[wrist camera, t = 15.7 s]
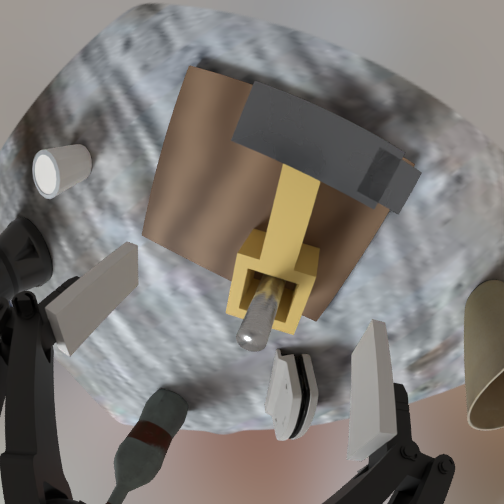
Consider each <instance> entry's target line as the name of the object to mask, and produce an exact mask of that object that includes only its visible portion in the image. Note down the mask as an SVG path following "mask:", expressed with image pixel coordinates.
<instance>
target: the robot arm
mask: <svg viewBox="0 0 504 504" xmlns="http://www.w3.org/2000/svg"><path fill="white" fill-rule="evenodd" d="M51 275H52V263H51V258H50V255H49V251H48V249H47V246H46V244H45V242H44V240H43V238H42V236H41V234H40V233H39V231H38V230H37V228H36V227H35V226H34V225H33V224H32V223H31V222H30V221H29V220H28V219H26V218H23V217H20V218H18V219H16V220H14V221H12V222H11V223H10V224H9V225H8V226H7V228H6V229H5V230H4V231H3V232H2V233H1V235H0V415H1V411H2V407H3V403H4V399H5V396H6V402H5V440H6V451H5V452H4V453H2V454H1V456H0V471H1V480H2V487H3V494H4V500H5V504H86V503H84V502H82V501H79V502H78V501H75V500H73V498H72V494H71V490H70V487H69V484H68V482H67V480H66V478H65V476H64V474H63V469H62V464H61V458H60V451H59V444H58V437H57V428H56V419H55V418H56V417H55V403H54V380H53V379H54V378H53V355H54V350H53V345H54V343H55V342H56V343H57V345H58V348H59V350H60V351H62V352H63V353H65V354H66V355H68V356H71V355H72V354H73V353H74V352H75V351H76V350H77V349H78V347H79V346H80V345H81V344H82V343H83V342H84V341H85V340H86V339H87V338H88V337H89V335H90V334H91V333H92V332H93V331H94V330H95V329H96V328H97V327H98V326H99V325H100V324H101V323H102V322H103V321H104V319H105V318H106V317H107V316H108V315H109V314H110V313H111V312H112V311H113V310H114V309H115V308H116V307H117V306H118V305H119V304H120V303H121V302H122V301H123V300H124V299H125V298H126V297H127V296H128V295H129V294H130V293H131V292H132V291H133V290H134V289H135V288H136V287H137V286H138V245H135V244H132V243H130V242H126V243H124V244H123V245H122V246H120V247H119V248H118V249H116V250H115V251H114V252H112V253H111V254H110V255H108V256H107V257H106V258H104V259H103V260H102V261H101V262H99V263H98V264H97V265H96V266H94V267H93V268H92V269H90V270H89V271H88V272H87V273H85V274H84V275H83V276H82V277H78V276H76V277H73V278H71V279H68V280H67V281H66V282H64V283H63V284H62V285H61V286H59V287H58V288H57V289H56V291H53V292H52V293H51V294H50V295H48V296H47V297H46V298H45V299H44V300H43V301H41V302H40V303H39V304H38V303H37V300H36V296H35V295H34V293H32V292H30V291H26V290H29V289H31V288H33V287H39V286H42V285H43V284H45V283H46V282H47V281H49V280H50V278H51ZM12 298H13V299H12ZM11 299H12V304H13V307H10V305H9V301H10V300H11ZM368 457H369V464H368V465H366V466H365V467H364V468H362V469H360V470H359V471H358V474H357V475H355V476H354V477H353V478H352V479H351V480H350V481H349V482H348V483H347V484H345V485H344V486H343V487H342V488H341V489H340V490H338V491H337V492H336V493H335V494H334V495H332V496H331V497H330V498H329V499H327V500H326V501H325V502H324V503H322V504H383V502H384V501H385V500H386V499H387V498H388V497H389V496H390V495H391V494H392V492H393V491H394V490H395V491H394V493H393V495H392V496H391V498H390V500H389V502H388V504H443V503H444V501H445V498H446V496H447V493H448V490H449V487H450V484H451V481H452V478H453V475H454V472H455V464H454V461H453V459H452V458H451V457H450V456H448V455H445V454H442V455H439V456H438V457H436V458H432V457H430V456H427V455H425V454H423V453H421V452H420V450H419V447H418V445H417V444H416V443H415V442H413V441H412V436H411V424H410V413H409V405H408V394H407V392H406V390H405V388H404V386H403V384H397V383H393V375H392V367H391V359H390V351H389V344H388V337H387V331H386V325H385V322H381V321H377V320H374V319H372V321H371V322H370V324H369V326H368V328H367V329H366V331H365V333H364V335H363V336H362V338H361V340H360V341H359V343H358V345H357V346H356V348H355V350H354V351H353V353H352V354H351V403H350V423H349V437H348V450H347V460H354V461H363V460H365V459H366V458H368Z"/></svg>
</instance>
